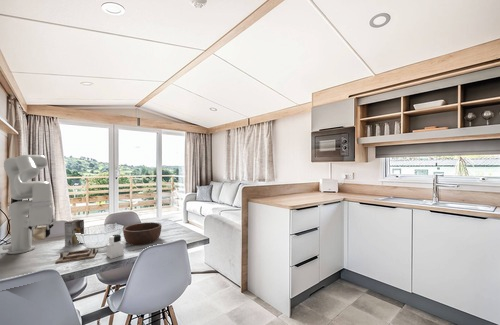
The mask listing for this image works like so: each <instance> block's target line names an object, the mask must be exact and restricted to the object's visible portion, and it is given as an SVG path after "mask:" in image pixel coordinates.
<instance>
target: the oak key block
mask: <svg viewBox="0 0 500 325" xmlns="http://www.w3.org/2000/svg"><path fill="white" fill-rule="evenodd" d="M47 238H48V237H46V225H40V226H37V228H35V229H33V231H32V242H33V241H34V242H35V241H42V240H45V239H47Z"/></svg>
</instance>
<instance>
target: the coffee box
mask: <svg viewBox="0 0 500 325" xmlns="http://www.w3.org/2000/svg"><path fill="white" fill-rule="evenodd" d="M75 233H81V234H84V235H85V219H73V220H69V221H65V222H64V247H75V246H77V245H80V243H79V241H78V240H77V237H76V235H75Z"/></svg>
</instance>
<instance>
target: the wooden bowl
mask: <svg viewBox="0 0 500 325" xmlns="http://www.w3.org/2000/svg"><path fill="white" fill-rule="evenodd" d="M122 232H123V238H124V240H125V243H127V244H129V245H131V246H143V245H149V244H152V243H154V242H156V241H158V239H159V238H160V236H161V233H162V224H161V223H159V222H153V221H152V222H151V221H149V222H147V221H146V222H139V223H138V222H137V223H134V224H130V225H127V226H124V228H122Z"/></svg>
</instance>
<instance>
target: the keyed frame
mask: <svg viewBox="0 0 500 325" xmlns="http://www.w3.org/2000/svg"><path fill="white" fill-rule="evenodd" d="M98 252H99V249H98V248H95V247H94V248H88V249H80V250H73V251H67V252H65V253H64V252H60V253H59V257H58V258H57V260H55V261H54V262H55V264H60V263H67V262H68V263H69V262H74V261H83V260H88V259H95V256H96V255H97V253H98Z"/></svg>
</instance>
